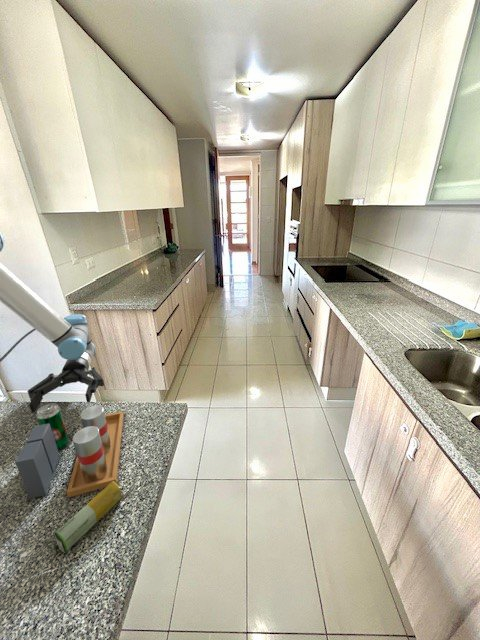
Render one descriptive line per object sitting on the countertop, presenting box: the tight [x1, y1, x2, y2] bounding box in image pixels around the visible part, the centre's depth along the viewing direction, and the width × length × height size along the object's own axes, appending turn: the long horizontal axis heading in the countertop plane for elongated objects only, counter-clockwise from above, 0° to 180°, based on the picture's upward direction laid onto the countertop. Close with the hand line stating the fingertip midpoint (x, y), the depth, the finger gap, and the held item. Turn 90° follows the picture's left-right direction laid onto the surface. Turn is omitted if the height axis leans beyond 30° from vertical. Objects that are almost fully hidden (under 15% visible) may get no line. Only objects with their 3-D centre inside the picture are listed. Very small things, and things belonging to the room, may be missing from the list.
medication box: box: [53, 481, 123, 554], centre depth 51 cm, size 12×3×4 cm, turn 149°
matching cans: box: [72, 405, 111, 483], centre depth 62 cm, size 13×5×12 cm, turn 19°
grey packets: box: [15, 423, 60, 500], centre depth 59 cm, size 10×3×11 cm, turn 19°
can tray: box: [66, 411, 125, 498], centre depth 68 cm, size 24×10×2 cm, turn 19°
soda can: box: [35, 402, 70, 451], centre depth 67 cm, size 5×5×12 cm
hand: (60, 403), depth 73 cm, fingers open, 13 cm apart
